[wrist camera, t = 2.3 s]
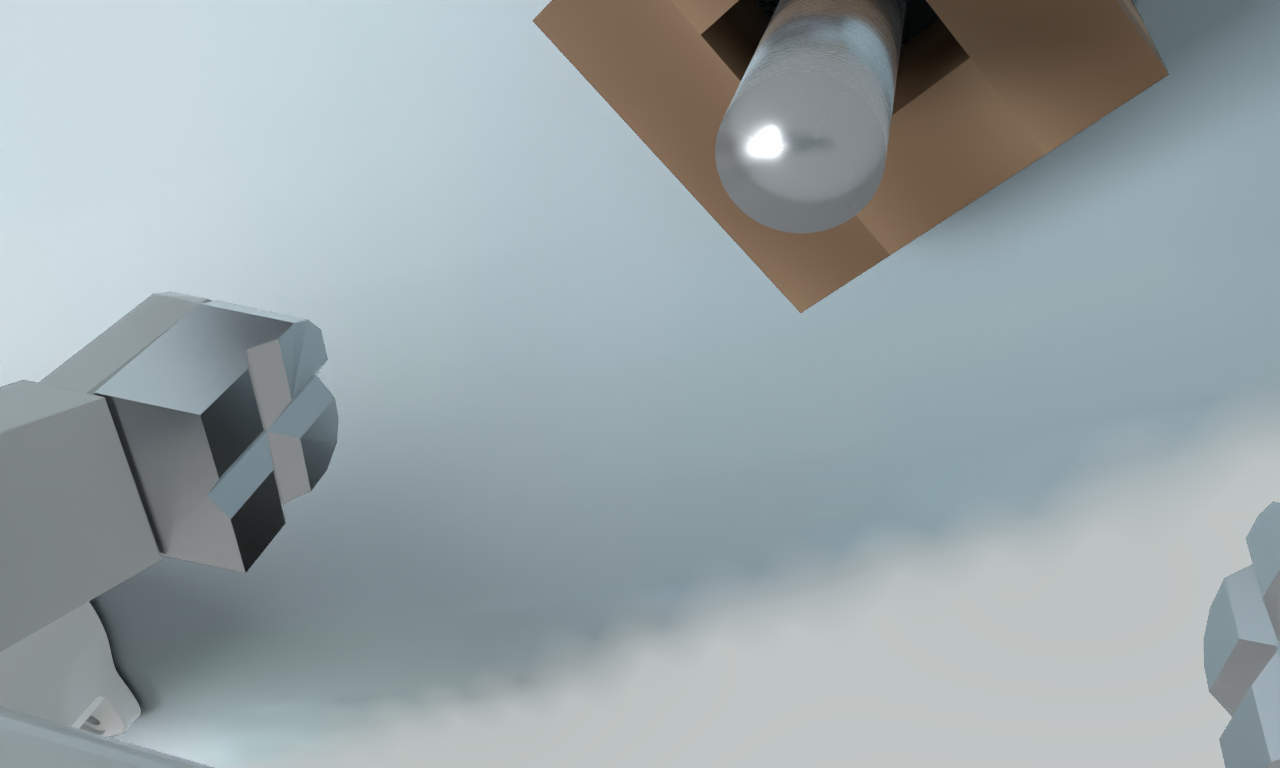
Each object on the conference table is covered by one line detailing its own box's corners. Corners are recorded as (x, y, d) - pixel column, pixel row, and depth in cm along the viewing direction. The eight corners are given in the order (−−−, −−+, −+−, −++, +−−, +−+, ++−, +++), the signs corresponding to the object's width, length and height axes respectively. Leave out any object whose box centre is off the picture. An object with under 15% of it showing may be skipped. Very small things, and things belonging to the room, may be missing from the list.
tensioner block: (820, 227, 25) (800, 313, 22) (591, -33, 23) (532, 20, 19) (1136, 7, 20) (1168, 74, 17) (890, -344, 18) (876, -340, 15)
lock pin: (840, 65, 23) (788, 262, 15) (769, -20, 22) (681, 143, 15) (932, -8, 21) (921, 169, 14) (861, -102, 21) (811, 36, 13)
